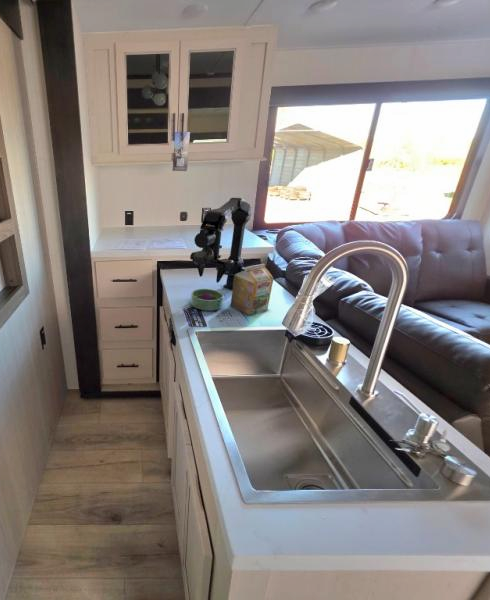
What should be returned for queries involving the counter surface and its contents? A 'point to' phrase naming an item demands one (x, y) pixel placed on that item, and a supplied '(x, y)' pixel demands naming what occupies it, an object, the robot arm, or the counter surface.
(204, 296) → the ball
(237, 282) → the milk carton
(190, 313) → the counter surface
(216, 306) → the bowl
